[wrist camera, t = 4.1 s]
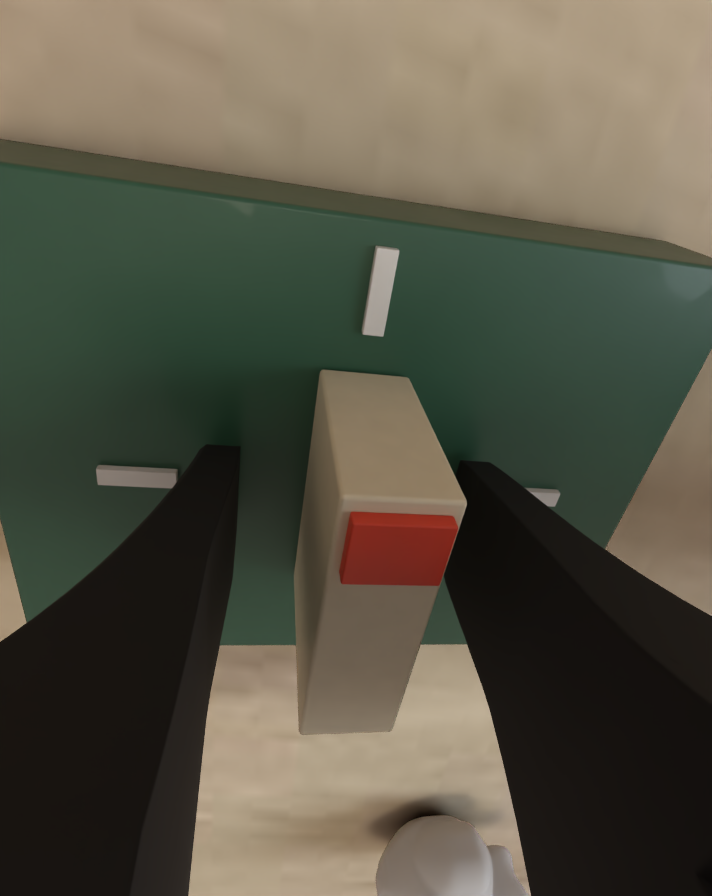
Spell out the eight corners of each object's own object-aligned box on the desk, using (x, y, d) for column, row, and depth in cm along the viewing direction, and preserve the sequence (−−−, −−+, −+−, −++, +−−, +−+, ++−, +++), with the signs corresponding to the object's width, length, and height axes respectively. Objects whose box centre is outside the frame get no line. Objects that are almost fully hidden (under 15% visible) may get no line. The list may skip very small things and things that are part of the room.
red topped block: (364, 576, 12) (395, 747, 9) (293, 575, 12) (298, 751, 9) (408, 375, 9) (475, 515, 6) (319, 367, 9) (341, 509, 6)
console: (667, 241, 11) (762, 275, 9) (520, 576, 17) (557, 650, 14) (-11, 136, 9) (-106, 148, 7) (67, 567, 14) (29, 653, 12)
